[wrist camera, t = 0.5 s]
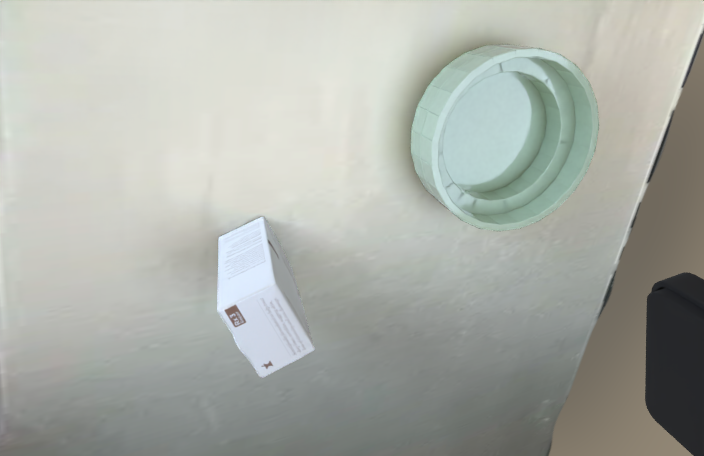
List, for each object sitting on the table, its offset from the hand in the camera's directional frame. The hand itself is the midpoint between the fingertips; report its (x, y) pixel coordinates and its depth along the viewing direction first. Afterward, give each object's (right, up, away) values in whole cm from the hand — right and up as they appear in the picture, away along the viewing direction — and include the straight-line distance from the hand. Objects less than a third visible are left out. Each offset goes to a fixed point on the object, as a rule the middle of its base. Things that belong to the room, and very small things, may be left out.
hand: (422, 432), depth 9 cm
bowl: (+10, +12, +36) cm, 40 cm away
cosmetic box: (-9, +2, +35) cm, 37 cm away
